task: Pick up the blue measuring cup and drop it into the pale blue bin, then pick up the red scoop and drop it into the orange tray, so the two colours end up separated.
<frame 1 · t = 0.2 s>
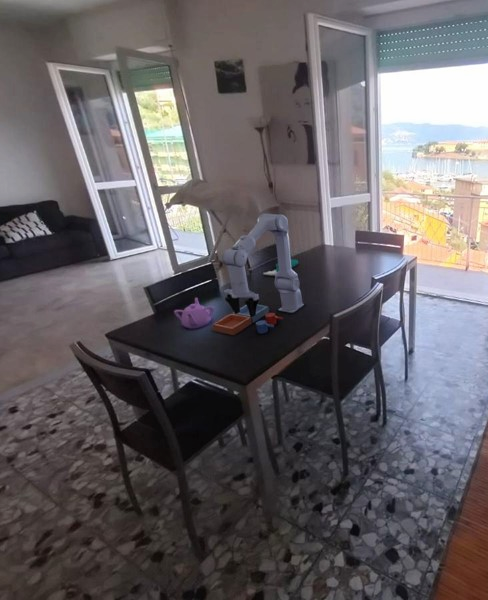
hand: (245, 314, 136), 10 cm above the table, tool pointing down, fingers open, 7 cm apart
red scoop: (271, 323, 151), on the table
blue bin: (251, 315, 158), on the table
blue measuring cup: (262, 331, 144), on the table
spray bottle: (281, 269, 214), on the table
orange tray: (233, 327, 148), on the table
teapot: (197, 323, 152), on the table
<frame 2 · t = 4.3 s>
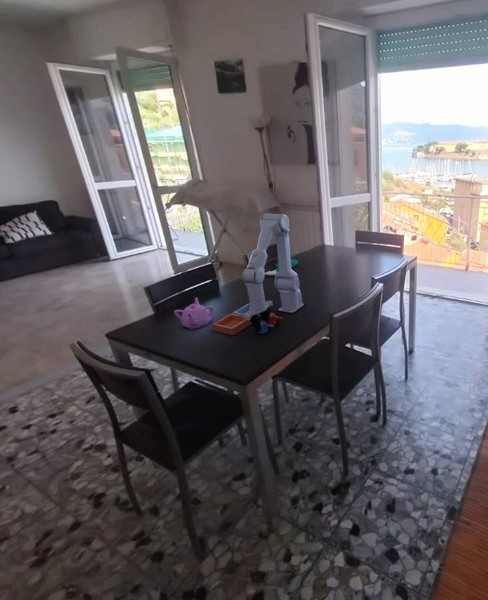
hand: (262, 328, 144), 1 cm above the table, tool pointing down, fingers closed on blue measuring cup, 4 cm apart
blue measuring cup: (262, 331, 144), on the table, touching gripper
everything else where it was.
when the fingers open (2 cm above the table, at t = 8.7 s): blue measuring cup stays where it is, resting on blue bin.
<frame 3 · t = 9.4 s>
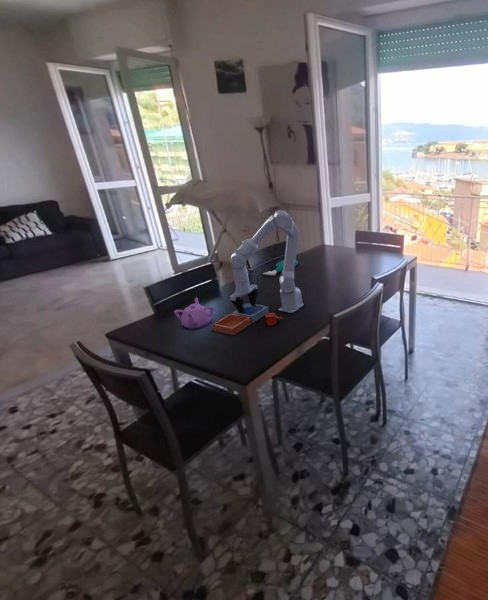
hand: (247, 309, 157), 3 cm above the table, tool pointing down, fingers open, 7 cm apart
blue measuring cup: (247, 313, 158), resting on blue bin
everything else where it was.
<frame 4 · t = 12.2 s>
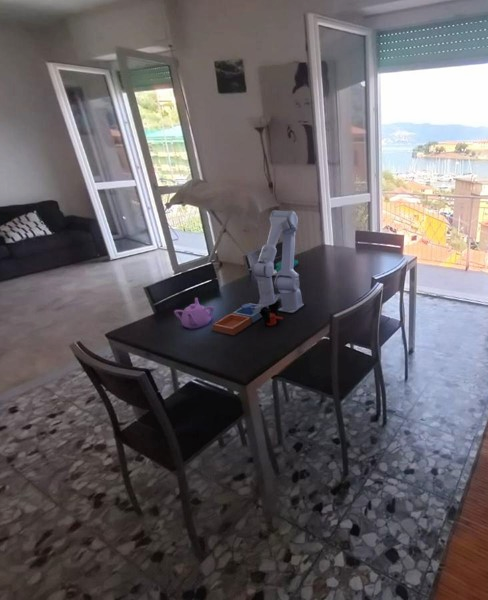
hand: (271, 320, 150), 1 cm above the table, tool pointing down, fingers closed on red scoop, 4 cm apart
red scoop: (271, 323, 151), on the table, touching gripper
everything else where it was.
when the fingers open (2 cm above the table, at t = 16.5 s): red scoop stays where it is, resting on orange tray.
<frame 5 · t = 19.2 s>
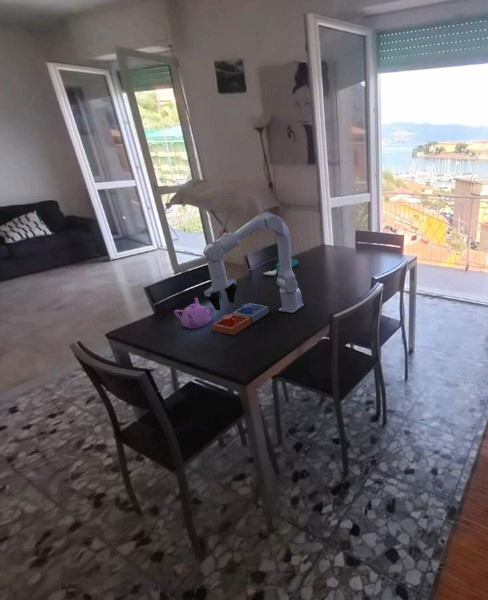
hand: (224, 306, 145), 9 cm above the table, tool pointing down, fingers open, 7 cm apart
red scoop: (229, 325, 148), resting on orange tray
everything else where it was.
at the end: blue measuring cup inside the target area in the blue bin (2.1 cm from its centre), point 0.5 cm above the blue bin's base; red scoop inside the target area in the orange tray (2.0 cm from its centre), point 0.5 cm above the orange tray's base; the gripper is holding nothing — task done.
